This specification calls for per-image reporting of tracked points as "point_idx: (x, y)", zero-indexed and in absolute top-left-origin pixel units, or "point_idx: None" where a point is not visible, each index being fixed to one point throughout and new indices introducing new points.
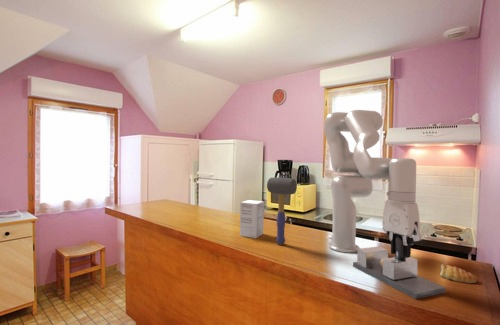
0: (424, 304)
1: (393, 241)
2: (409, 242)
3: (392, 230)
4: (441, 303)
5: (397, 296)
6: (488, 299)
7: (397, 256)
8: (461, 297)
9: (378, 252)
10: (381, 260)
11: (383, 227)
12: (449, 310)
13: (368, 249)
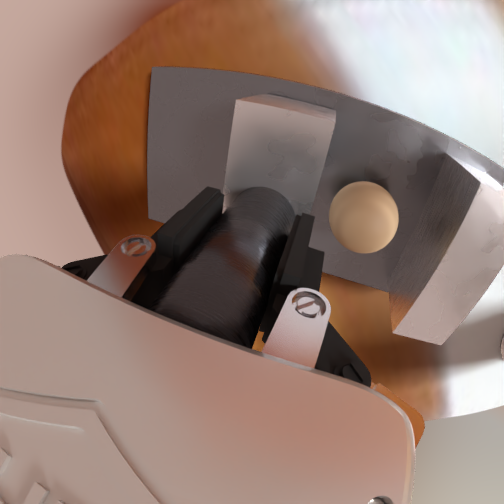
0: (136, 63)
1: (281, 289)
2: (100, 261)
3: (180, 350)
4: (122, 122)
5: (207, 22)
6: None
7: (257, 197)
8: (129, 215)
9: (428, 271)
10: (388, 206)
11: (395, 420)
12: (97, 103)
13: (483, 258)
